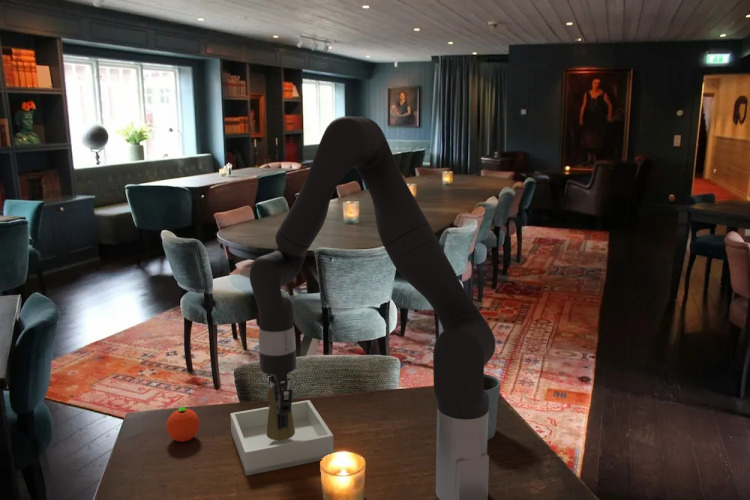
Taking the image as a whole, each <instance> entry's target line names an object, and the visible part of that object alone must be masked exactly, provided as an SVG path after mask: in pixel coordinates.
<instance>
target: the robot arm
mask: <svg viewBox="0 0 750 500" xmlns="http://www.w3.org/2000/svg"><path fill="white" fill-rule="evenodd" d="M389 144H390V143H388V139H387V138H386V135H385V133H384V132H383V130H382V128H381V126H380V125H378V123H377V122H375V121H374V119H370V118H369V117H366V116H351V115H347V116H339V117H337V118H335V119H333V120H332V121H331V122H330V123H329V124H328V125H327V127H326V128H325V130H324V132H323V134H322V137H321V139H320V141H319V144H318V146H317V150H316V152H315V154H314V157H313V160H312V163H311V165H310V166H309V170H308V173H306V174H307V175H306V177H305V180H304V182H303V184H302V186H301V188H300V190H299V192H298V194H297V196H296V198H295V200H294V202H293V204H292V205H291V207H290V209H289V211H288V213H286V216H285V218H284V219H283V221H282V223H281V224H280V226H279V228H278V229H277V232H276V234H275V238H274V240H275V243H276V245H277V246H276V248H275V250H274V251H273V252H270V253H267V254H264V255H261V256H259V257H257V258H256V259H254V260H253V262H252V264H251V266H250V268H249V269H250V270H249V283H250V286H251V289H252V293H253V296H254V300H255V302H256V305H257V309H258V324H259V325H258V327H259V328H258V329H259V332H258V352H259V353H258V355H259V369H260V372H262V373H263V374H266V381H267V389H268V388H269V386H271V389H272V392H273V401H274V402H275V403H276V412H277V423H278V429H279V430H281V429H282V428H285V429H287V428H288V413H291V406H292V403H293V393H294V392H293V390H292V388H291V389H289V387H291V379H290V377H288V374H290V373H291V372H293V371H294V370H295V369H297V348H296V347H297V346H296V345H297V344H296V332H295V326H294V305H293V301H292V300H291V299H290V298H289V297H286V296H283V294H282V290H281V289H282V288H281V287H283V286H285V285H288V284H290V283H292V281H294V279H295V278H296V277H297V276H298V274H300V271H301V269H302V268H303V264H304V262H305V260H306V256H307V252H308V250H309V248H310V247H311V245H312V244H313V242H314V241H315V239H316V238H317V236H318V235H319V233H320V232H321V230H322V228H323V225H324V224H325V222H326V218H327V215H328V211H329V207H330V204H331V199H332V197H333V194H334V192H335V190H336V189H337V187H338V185H339V184H340V183H341V182H342V180H344V179H343V178H345V176H346V175H347V174H348V173H349V172H350V171H351V170H352V169H355V170H356V171H357V172H358V174H359V176H360V178H361V179H362V181H363V183H364V185H365V186H366V188H367V190H368V192H369V195H370V197H371V200H372V205H373V211H374V216H375V223H376V228H377V233H378V236H379V239H380V241H381V244H382V246H383V248H384V250H385V252H386V253H387V255H388V257H389V259H390V261H391V262H392V264H393V266H394V267H395V269H396V271H397V272H398V273H399V274H400V275H401V276H402V278H403V279H404V280H405V281H406V282H407V283H408V284H409V285H410V286H411V287H412V288H414V289H415V290H416V291H417V292H418V293H419V294H421V296H423V298H425V300H426V301H427V302H428V303H429V305H430V306H431V308H432V310H433V311H434V312H435V315H436V316H437V318H438V321H439V322H440V324H441V326H442V329H443V331H442V332H441V333H440V334H439V335H438V336H437V338H436V339H435V342H434V346H433V354H432V365H433V366H432V367H433V368H432V369H433V370H432V372H433V375H432V376H433V392H434V395H435V398H436V401H437V402H436V403H437V404H436V405H437V407H436V409H437V410H436V411H437V412H436V414H437V415H436V451H435V453H436V455H435V458H436V459H435V466H436V467H435V494H436V497H437V498H438V500H488V495H489V473H490V472H489V468H490V466H489V465H490V456H489V454H488V440H487V438H488V413H489V397H488V394H487V393H486V392H485V391H484V374H485V366H486V365H487V364H488V363H489V361H490V360H491V359H492V358H493V356H494V354H495V350H496V338H495V335H494V332H493V330H492V328H491V327H490V325H489V323H488V322H487V321H486V319H485V317H484V316H483V315H482V313H481V312H480V310H479V309H478V308H477V306H476V305H475V303H474V302H473V301H472V299H471V297H470V295H469V294H468V293H467V291H466V290H465V287H464V286H463V284H462V282H461V281H460V279H459V277H458V275H457V273H456V271H455V269H454V268H453V266H452V264H451V262H450V260H449V259H448V257H447V254H446V253H445V251H444V249H443V247H442V245H441V243H440V241H439V239H438V237H437V235H436V233H435V231H434V230H433V228H432V226H431V224H430V223H429V221H428V219H427V217H426V216H425V214H424V212H423V211H422V209H421V207H420V204H419V203H418V201H417V200H416V198H415V196H414V194H413V193H412V190H411V189H410V188H409V186H408V183H407V182H406V180H405V179H404V177H403V175H402V173H401V171H400V168H399V167H398V163H397V162H396V159H395V157H394V154H393V152H392V150H391V147H390V145H389ZM276 394H277V395H279V399H277V398H276ZM283 406H285V407H283Z"/></svg>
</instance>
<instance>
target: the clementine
mask: <svg viewBox="0 0 750 500" xmlns="http://www.w3.org/2000/svg"><path fill="white" fill-rule="evenodd" d="M200 423H201V422H200V418H199V416H198V415H197V413H196V412H195V411H193V410H192V409H189V408H186V407H185V406H181V407H180V406H179V407H178V409H177V410H175V411H174V412H172V413H171V415H170V416H169V417H168V419H167V421H166V431H167V434H168V435H169V437H170V438H171V439H172V440H175V441H176V442H188V441H190V440H192V439H193V438H194V437H196V435H197V434H198V432H199V429H200V425H201V424H200Z"/></svg>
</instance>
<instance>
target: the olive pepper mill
mask: <svg viewBox="0 0 750 500" xmlns="http://www.w3.org/2000/svg"><path fill="white" fill-rule="evenodd" d="M289 389H291V390H292V387H291V386H290V387H289ZM266 397H267V399H268V401H269V405H268V407H269V414H268V424H267V437H268V438H270V439H272V440H286V439H289V438H291V437H292V436H293V435H294V434H295V429H294V424H293V418H292V412H291V413H288V428H287V429H285V428H282V429H281V430H279V429H278V423H277V412H276V403H275V402H274V401H273V392H272V389H271V386H269V388H268V387H267V389H266ZM276 398H277V399H279V395H277V394H276ZM283 407H285V406H283Z"/></svg>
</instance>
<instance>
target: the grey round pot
mask: <svg viewBox="0 0 750 500" xmlns="http://www.w3.org/2000/svg"><path fill="white" fill-rule="evenodd" d="M500 389H501V381H500V380H499V379H498V378H497V377H495V376H494V375H490V374H486V373H484V391H485V392H486V393H487V394H488V397H489V413H488V438H487V441H488V440H490V439H493V437H494V436H495V435H496V429H497V413H498V405H499V403H498V402H499V397H500Z"/></svg>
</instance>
